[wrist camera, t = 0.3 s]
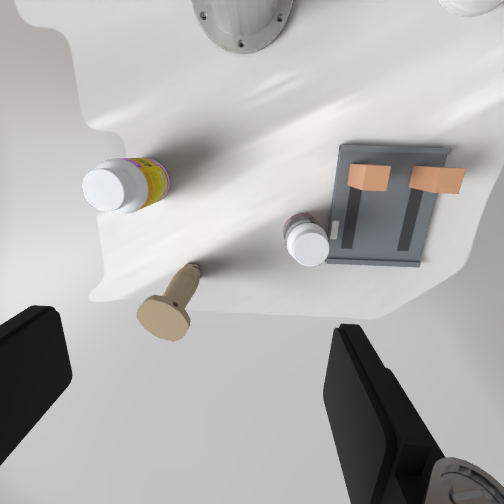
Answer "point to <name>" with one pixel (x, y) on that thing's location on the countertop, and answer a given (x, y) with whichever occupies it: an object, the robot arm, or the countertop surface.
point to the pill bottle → (306, 240)
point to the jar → (469, 6)
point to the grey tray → (381, 208)
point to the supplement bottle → (126, 184)
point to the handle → (171, 306)
